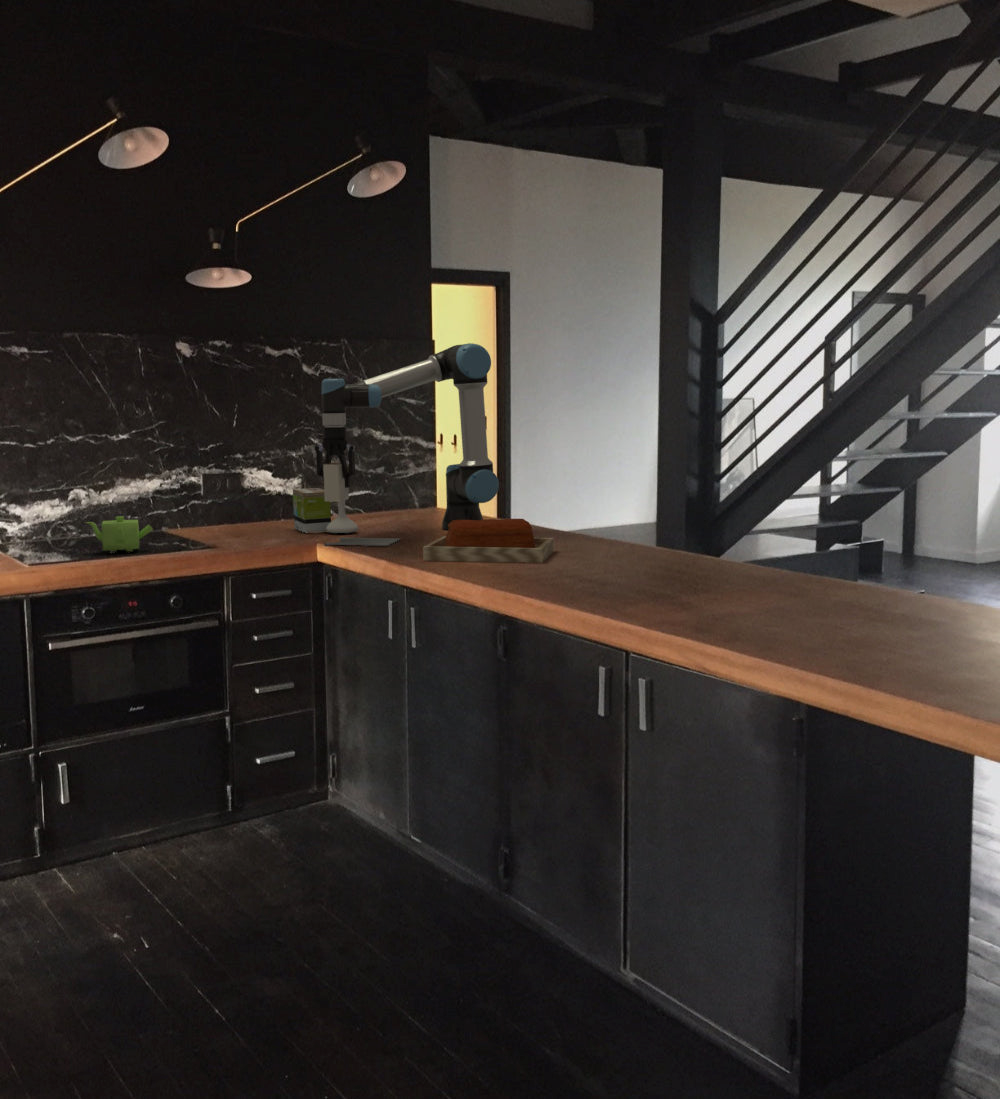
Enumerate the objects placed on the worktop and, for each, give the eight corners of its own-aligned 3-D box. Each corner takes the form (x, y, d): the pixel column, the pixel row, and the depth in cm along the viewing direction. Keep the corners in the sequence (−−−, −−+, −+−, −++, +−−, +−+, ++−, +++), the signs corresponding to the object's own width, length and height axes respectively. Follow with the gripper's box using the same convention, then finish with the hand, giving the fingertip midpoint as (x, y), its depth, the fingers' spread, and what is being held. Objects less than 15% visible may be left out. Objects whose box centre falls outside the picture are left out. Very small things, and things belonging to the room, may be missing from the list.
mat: (400, 540, 379) (400, 538, 379) (387, 546, 363) (387, 544, 363) (340, 539, 383) (340, 537, 383) (324, 545, 367) (324, 543, 367)
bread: (538, 557, 336) (538, 521, 335) (448, 560, 332) (447, 523, 331) (529, 550, 351) (529, 515, 350) (443, 552, 348) (442, 518, 346)
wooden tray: (553, 554, 350) (553, 538, 350) (541, 566, 327) (541, 548, 326) (442, 552, 357) (442, 536, 356) (423, 563, 334) (423, 546, 333)
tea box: (293, 529, 411) (291, 488, 409) (320, 528, 415) (319, 487, 413) (304, 534, 398) (303, 492, 396) (332, 532, 402) (331, 490, 400)
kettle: (86, 553, 355) (84, 517, 353) (120, 548, 367) (118, 513, 366) (122, 556, 348) (120, 519, 347) (155, 550, 361) (153, 515, 359)
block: (348, 498, 379) (347, 462, 378) (339, 501, 371) (337, 464, 369) (334, 498, 381) (333, 462, 379) (324, 501, 372) (323, 464, 370)
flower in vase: (364, 532, 402) (363, 461, 398) (347, 536, 392) (345, 463, 388) (333, 530, 407) (331, 460, 404) (315, 534, 397) (313, 462, 394)
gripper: (364, 425, 374) (366, 496, 377) (312, 426, 378) (315, 496, 381) (356, 426, 367) (359, 498, 370) (304, 427, 371) (306, 498, 374)
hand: (336, 497), depth 376 cm, fingers closed on block, 5 cm apart
